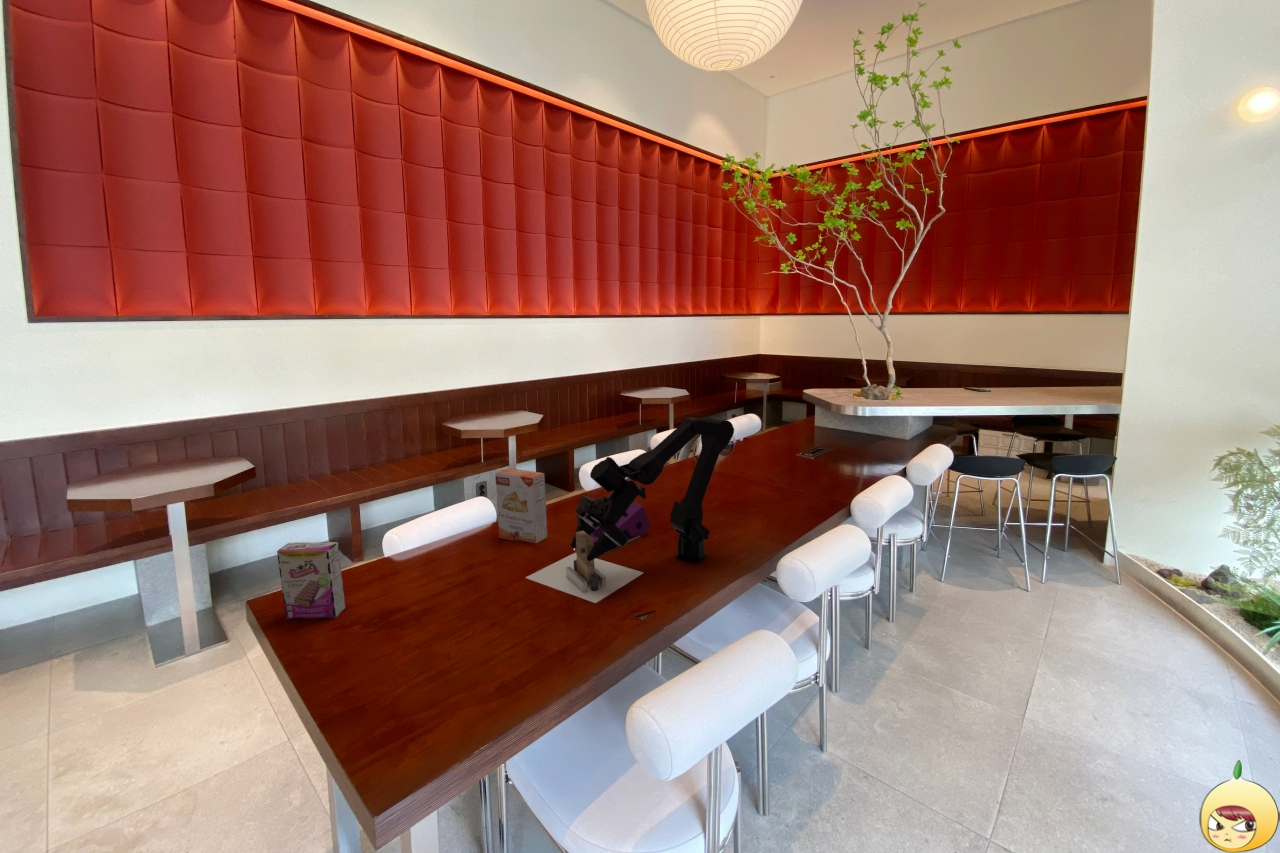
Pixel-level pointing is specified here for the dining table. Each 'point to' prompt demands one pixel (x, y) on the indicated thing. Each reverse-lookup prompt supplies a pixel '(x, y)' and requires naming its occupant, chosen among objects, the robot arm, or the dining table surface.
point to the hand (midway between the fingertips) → (579, 553)
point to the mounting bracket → (630, 522)
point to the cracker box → (521, 505)
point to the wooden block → (584, 556)
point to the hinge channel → (581, 583)
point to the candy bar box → (311, 580)
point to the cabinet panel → (614, 580)
